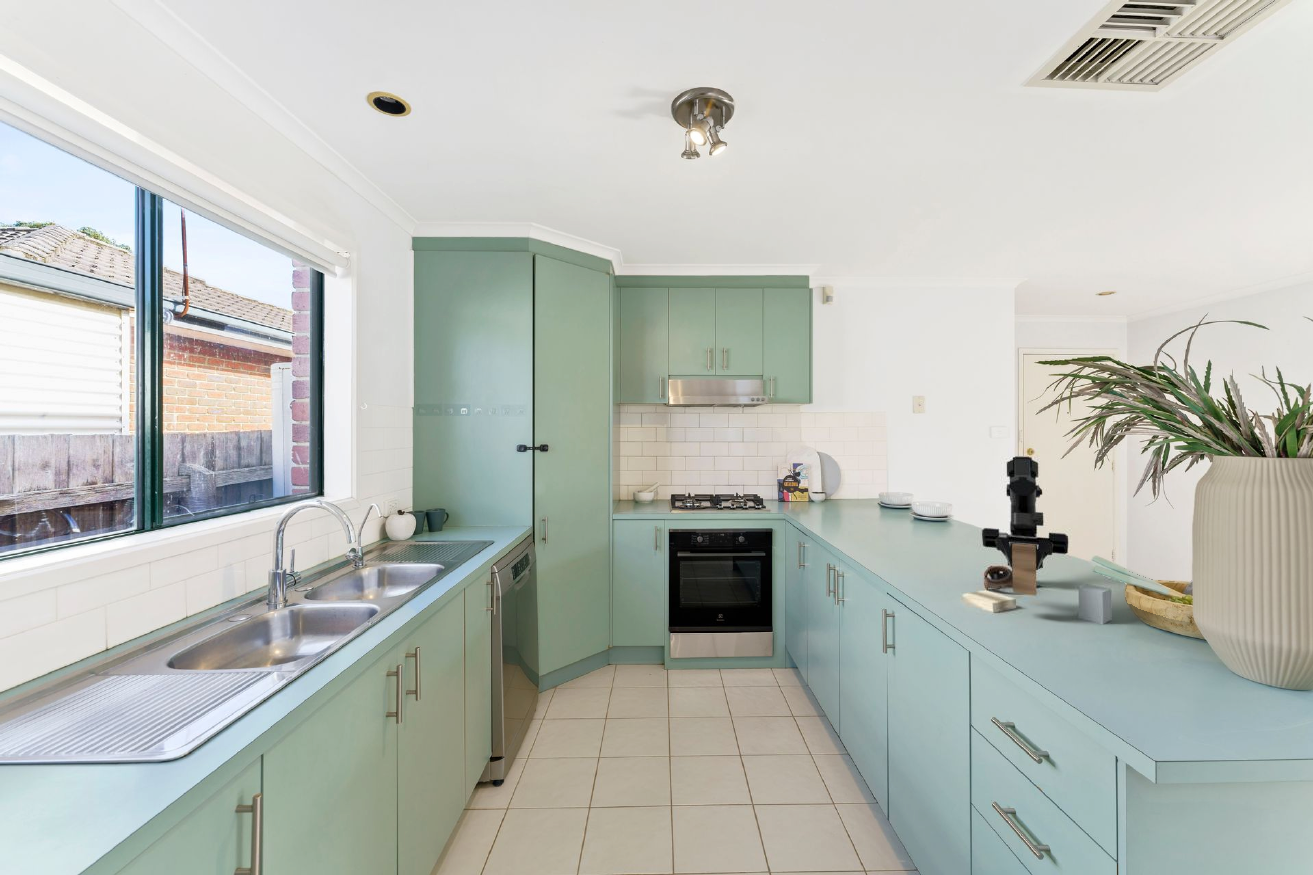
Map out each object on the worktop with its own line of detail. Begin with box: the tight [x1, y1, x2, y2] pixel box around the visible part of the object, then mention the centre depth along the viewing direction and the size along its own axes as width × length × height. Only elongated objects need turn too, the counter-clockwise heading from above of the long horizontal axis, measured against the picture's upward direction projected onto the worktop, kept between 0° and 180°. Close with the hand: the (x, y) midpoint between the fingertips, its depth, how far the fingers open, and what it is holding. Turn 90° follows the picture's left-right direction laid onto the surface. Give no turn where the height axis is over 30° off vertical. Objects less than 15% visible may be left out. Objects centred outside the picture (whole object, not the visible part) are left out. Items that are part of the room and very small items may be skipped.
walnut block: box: [1011, 544, 1037, 597], centre depth 138 cm, size 4×5×12 cm
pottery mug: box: [983, 565, 1013, 591], centre depth 163 cm, size 12×10×8 cm
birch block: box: [962, 589, 1017, 614], centre depth 148 cm, size 9×9×3 cm
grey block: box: [1078, 584, 1113, 625], centre depth 136 cm, size 5×5×8 cm
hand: (1023, 567), depth 137 cm, fingers closed on walnut block, 5 cm apart
